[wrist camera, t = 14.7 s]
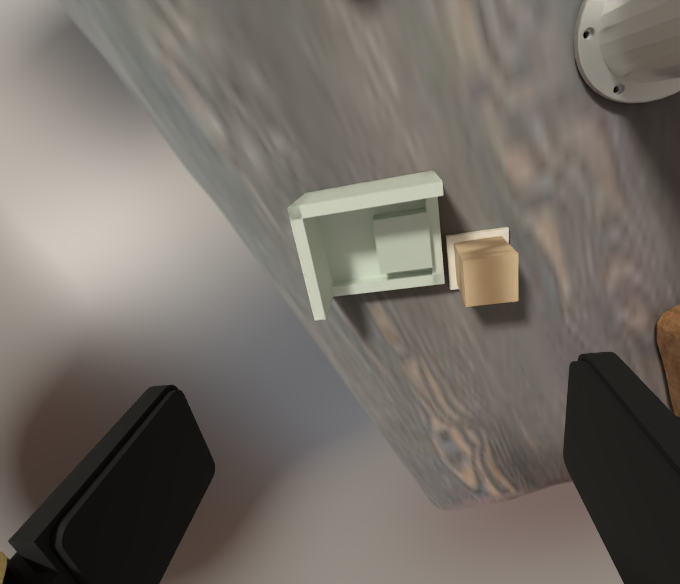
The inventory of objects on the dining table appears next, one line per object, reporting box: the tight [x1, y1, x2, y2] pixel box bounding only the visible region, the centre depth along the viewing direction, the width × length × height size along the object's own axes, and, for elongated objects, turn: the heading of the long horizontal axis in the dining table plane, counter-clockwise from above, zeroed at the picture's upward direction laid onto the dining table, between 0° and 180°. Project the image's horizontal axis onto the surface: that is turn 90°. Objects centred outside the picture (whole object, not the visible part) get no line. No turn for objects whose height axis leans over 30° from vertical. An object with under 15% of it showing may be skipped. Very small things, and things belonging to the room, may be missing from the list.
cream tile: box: [446, 227, 509, 290], centre depth 41 cm, size 6×6×1 cm
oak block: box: [454, 236, 518, 307], centre depth 39 cm, size 5×5×6 cm
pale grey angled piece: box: [287, 170, 445, 320], centre depth 39 cm, size 14×12×8 cm
